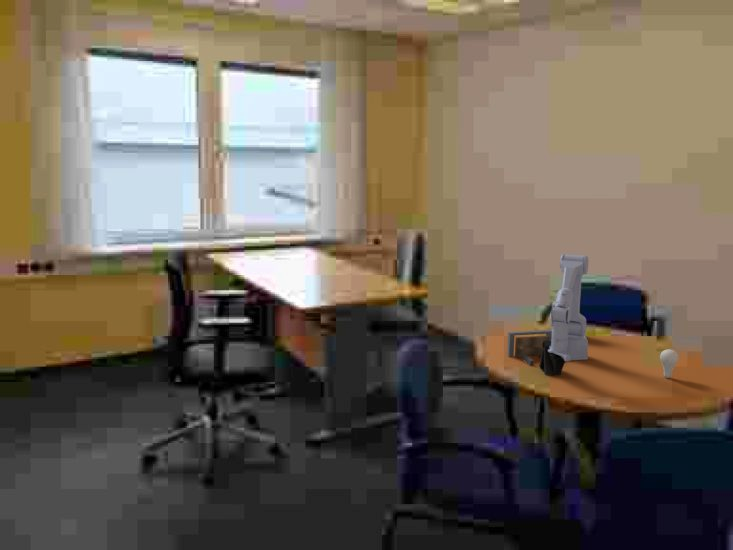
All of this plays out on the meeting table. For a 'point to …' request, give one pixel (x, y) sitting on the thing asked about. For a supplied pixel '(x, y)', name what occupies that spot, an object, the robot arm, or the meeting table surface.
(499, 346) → the meeting table surface
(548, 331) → the grey picture frame
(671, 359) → the lightbulb
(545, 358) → the phone stand
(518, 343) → the door
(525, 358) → the keeper
